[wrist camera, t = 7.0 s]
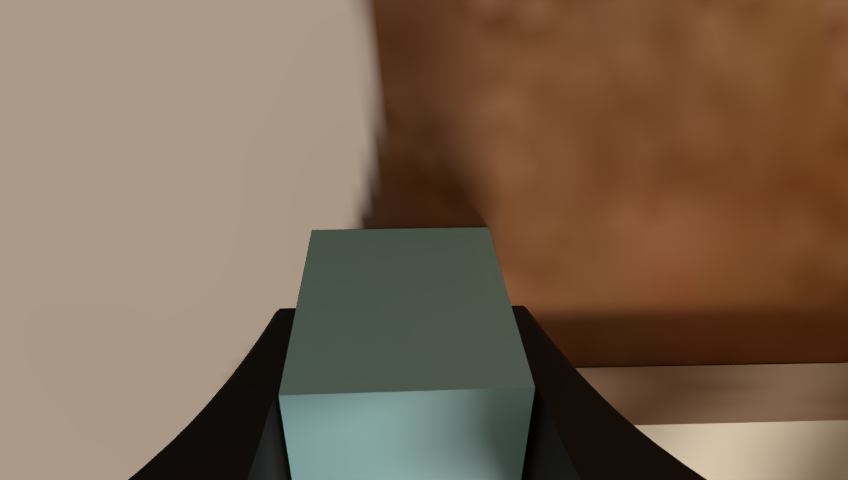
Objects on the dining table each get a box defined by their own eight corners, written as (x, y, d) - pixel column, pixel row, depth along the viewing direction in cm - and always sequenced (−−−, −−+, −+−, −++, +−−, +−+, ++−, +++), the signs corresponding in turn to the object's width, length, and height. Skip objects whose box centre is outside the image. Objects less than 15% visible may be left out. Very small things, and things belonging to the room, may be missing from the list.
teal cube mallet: (488, 227, 14) (534, 387, 9) (466, 499, 19) (490, 682, 15) (311, 230, 13) (278, 395, 9) (338, 505, 19) (325, 691, 14)
